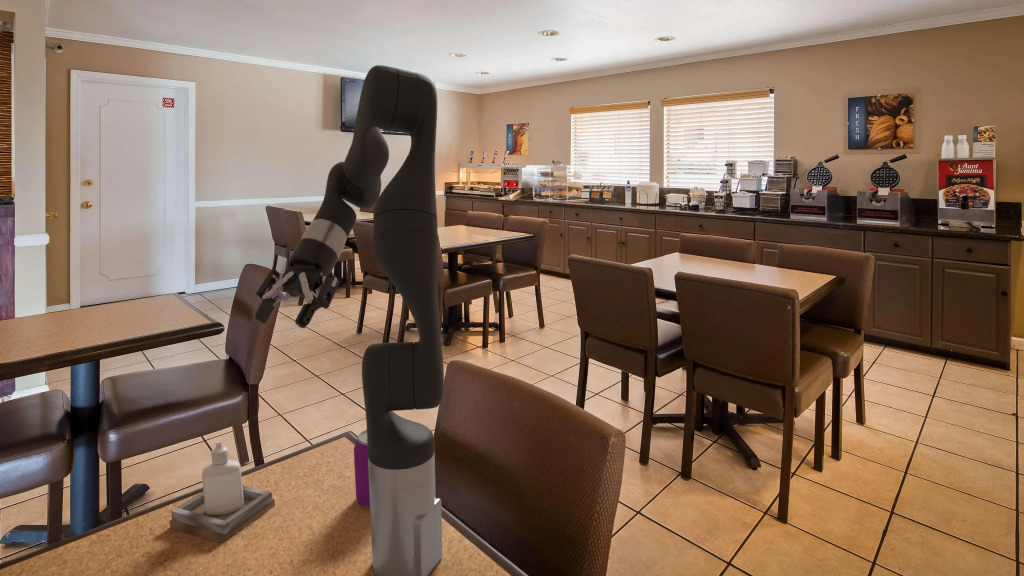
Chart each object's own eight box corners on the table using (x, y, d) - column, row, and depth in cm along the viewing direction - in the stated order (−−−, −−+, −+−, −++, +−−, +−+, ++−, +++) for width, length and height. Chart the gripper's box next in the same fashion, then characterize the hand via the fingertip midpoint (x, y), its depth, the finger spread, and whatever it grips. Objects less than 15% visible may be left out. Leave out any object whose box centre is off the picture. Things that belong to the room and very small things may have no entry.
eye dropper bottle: (234, 517, 91) (227, 449, 89) (201, 516, 91) (193, 447, 89) (248, 502, 95) (242, 436, 93) (216, 501, 96) (210, 435, 93)
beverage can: (386, 482, 104) (384, 421, 102) (409, 499, 99) (407, 435, 97) (348, 498, 99) (344, 434, 97) (370, 517, 94) (367, 450, 91)
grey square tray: (274, 505, 97) (273, 490, 96) (222, 543, 87) (220, 527, 86) (225, 492, 100) (224, 478, 100) (170, 527, 90) (168, 512, 90)
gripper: (360, 263, 106) (324, 338, 97) (299, 259, 110) (259, 330, 102) (341, 238, 100) (301, 315, 91) (277, 234, 105) (233, 308, 96)
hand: (279, 323), depth 97 cm, fingers open, 8 cm apart
